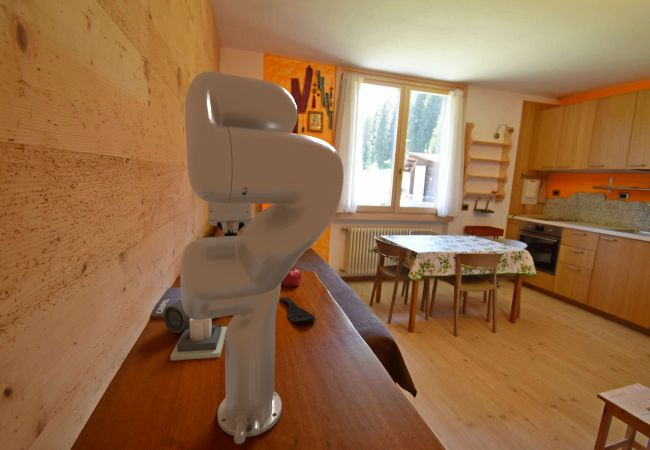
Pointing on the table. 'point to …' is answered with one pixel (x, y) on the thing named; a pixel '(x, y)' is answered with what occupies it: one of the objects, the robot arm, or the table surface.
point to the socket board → (199, 345)
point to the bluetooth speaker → (176, 317)
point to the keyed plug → (200, 329)
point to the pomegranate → (292, 278)
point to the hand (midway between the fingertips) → (231, 247)
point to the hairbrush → (297, 312)
